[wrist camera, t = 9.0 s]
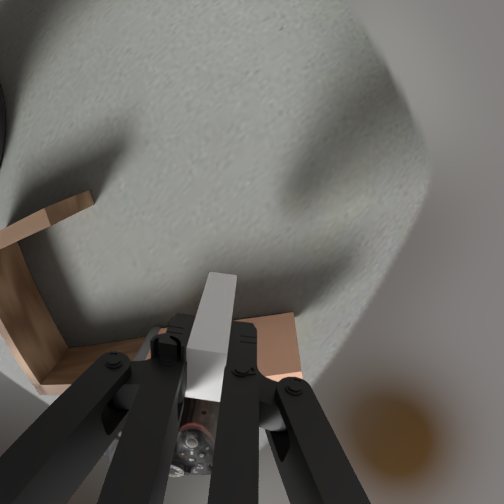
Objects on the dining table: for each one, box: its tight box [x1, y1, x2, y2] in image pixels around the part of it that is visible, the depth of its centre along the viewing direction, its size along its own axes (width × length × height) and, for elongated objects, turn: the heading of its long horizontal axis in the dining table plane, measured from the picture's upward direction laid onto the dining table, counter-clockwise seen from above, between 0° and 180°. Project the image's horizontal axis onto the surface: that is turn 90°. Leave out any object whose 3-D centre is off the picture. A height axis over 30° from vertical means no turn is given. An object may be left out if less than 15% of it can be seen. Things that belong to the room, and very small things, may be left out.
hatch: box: [133, 312, 302, 394], centre depth 22 cm, size 12×2×7 cm, turn 100°
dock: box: [0, 190, 146, 395], centre depth 22 cm, size 14×11×6 cm
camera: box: [103, 397, 220, 477], centre depth 25 cm, size 13×10×10 cm
